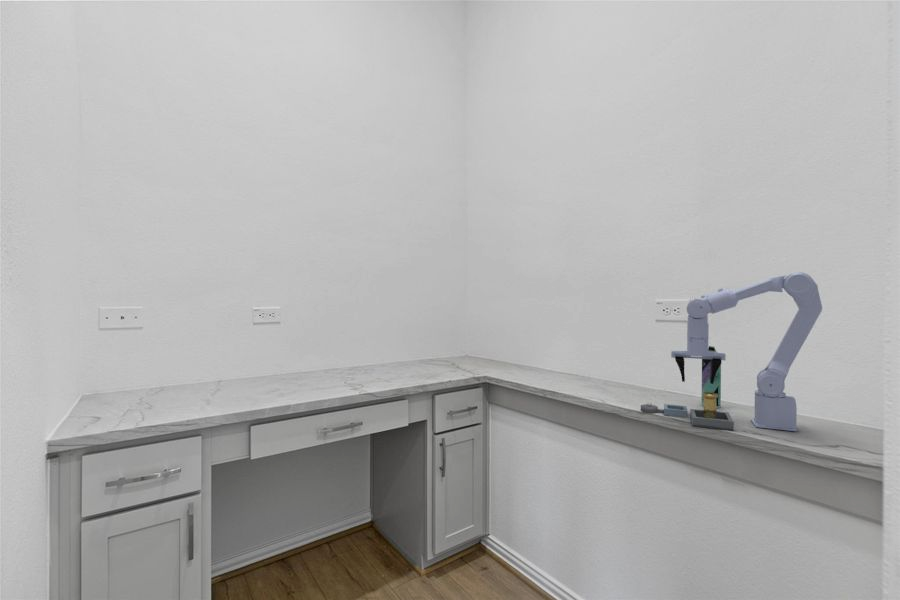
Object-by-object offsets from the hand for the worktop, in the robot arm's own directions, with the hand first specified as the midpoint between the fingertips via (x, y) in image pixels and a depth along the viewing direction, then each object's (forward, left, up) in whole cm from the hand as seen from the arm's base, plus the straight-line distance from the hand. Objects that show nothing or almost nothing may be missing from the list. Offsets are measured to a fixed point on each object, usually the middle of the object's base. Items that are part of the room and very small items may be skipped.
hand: (697, 382), depth 138 cm
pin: (-3, +7, -10) cm, 12 cm away
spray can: (-5, -14, -11) cm, 18 cm away
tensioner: (+9, 0, -10) cm, 14 cm away
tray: (-3, +8, -10) cm, 13 cm away
